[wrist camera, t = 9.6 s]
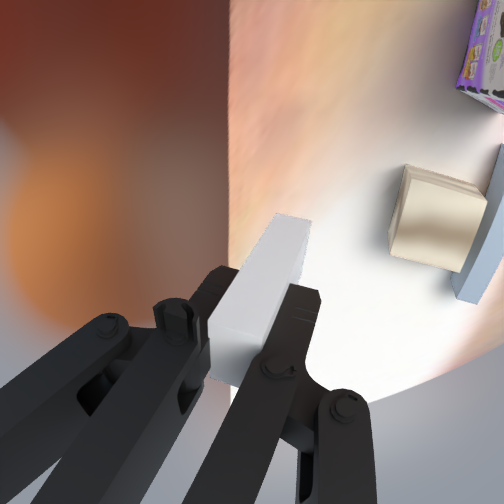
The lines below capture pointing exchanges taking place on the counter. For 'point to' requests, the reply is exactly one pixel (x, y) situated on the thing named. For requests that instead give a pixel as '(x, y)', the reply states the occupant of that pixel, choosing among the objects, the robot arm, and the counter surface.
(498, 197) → the blue-grey bar
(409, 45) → the counter surface
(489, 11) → the candy box
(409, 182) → the block
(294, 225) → the robot arm
